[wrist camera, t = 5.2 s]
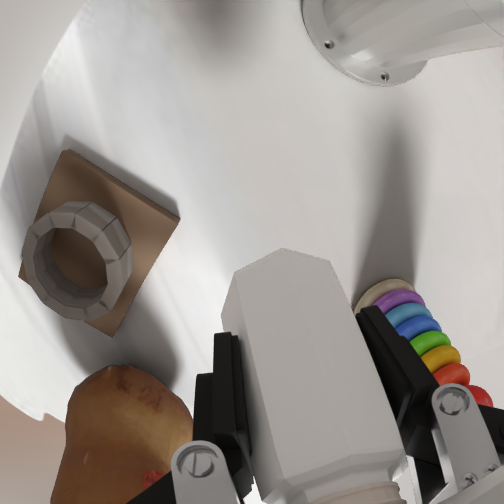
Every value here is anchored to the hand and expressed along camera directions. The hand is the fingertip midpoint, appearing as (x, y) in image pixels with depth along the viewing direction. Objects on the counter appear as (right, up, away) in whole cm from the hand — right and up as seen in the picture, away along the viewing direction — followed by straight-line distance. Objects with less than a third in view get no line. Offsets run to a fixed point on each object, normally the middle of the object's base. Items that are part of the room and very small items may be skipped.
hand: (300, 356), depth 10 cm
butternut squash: (-15, -12, +23) cm, 30 cm away
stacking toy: (+13, -3, +22) cm, 25 cm away
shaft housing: (-17, +4, +16) cm, 23 cm away
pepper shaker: (0, +1, +3) cm, 4 cm away
